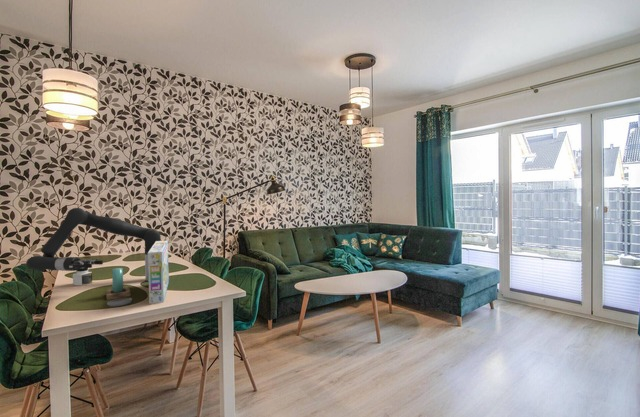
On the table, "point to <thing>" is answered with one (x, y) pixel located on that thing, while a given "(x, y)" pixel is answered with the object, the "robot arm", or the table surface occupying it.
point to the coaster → (119, 302)
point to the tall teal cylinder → (117, 280)
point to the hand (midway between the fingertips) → (97, 264)
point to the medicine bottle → (82, 277)
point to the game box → (158, 272)
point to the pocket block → (118, 294)
